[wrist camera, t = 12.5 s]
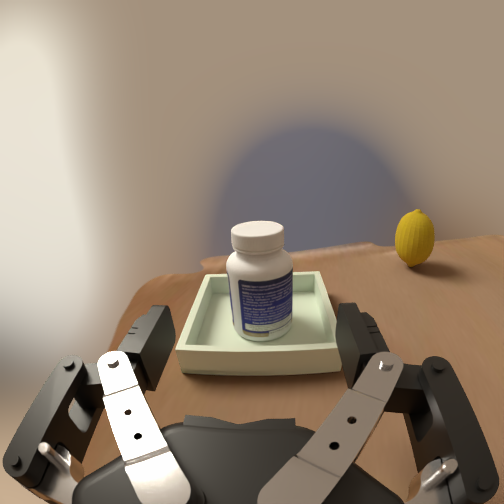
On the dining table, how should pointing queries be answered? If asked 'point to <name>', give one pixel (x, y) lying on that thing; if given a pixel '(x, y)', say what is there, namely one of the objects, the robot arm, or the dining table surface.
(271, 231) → the pill bottle
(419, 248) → the lemon
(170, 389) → the dining table surface
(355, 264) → the dining table surface
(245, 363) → the tray
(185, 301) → the dining table surface
